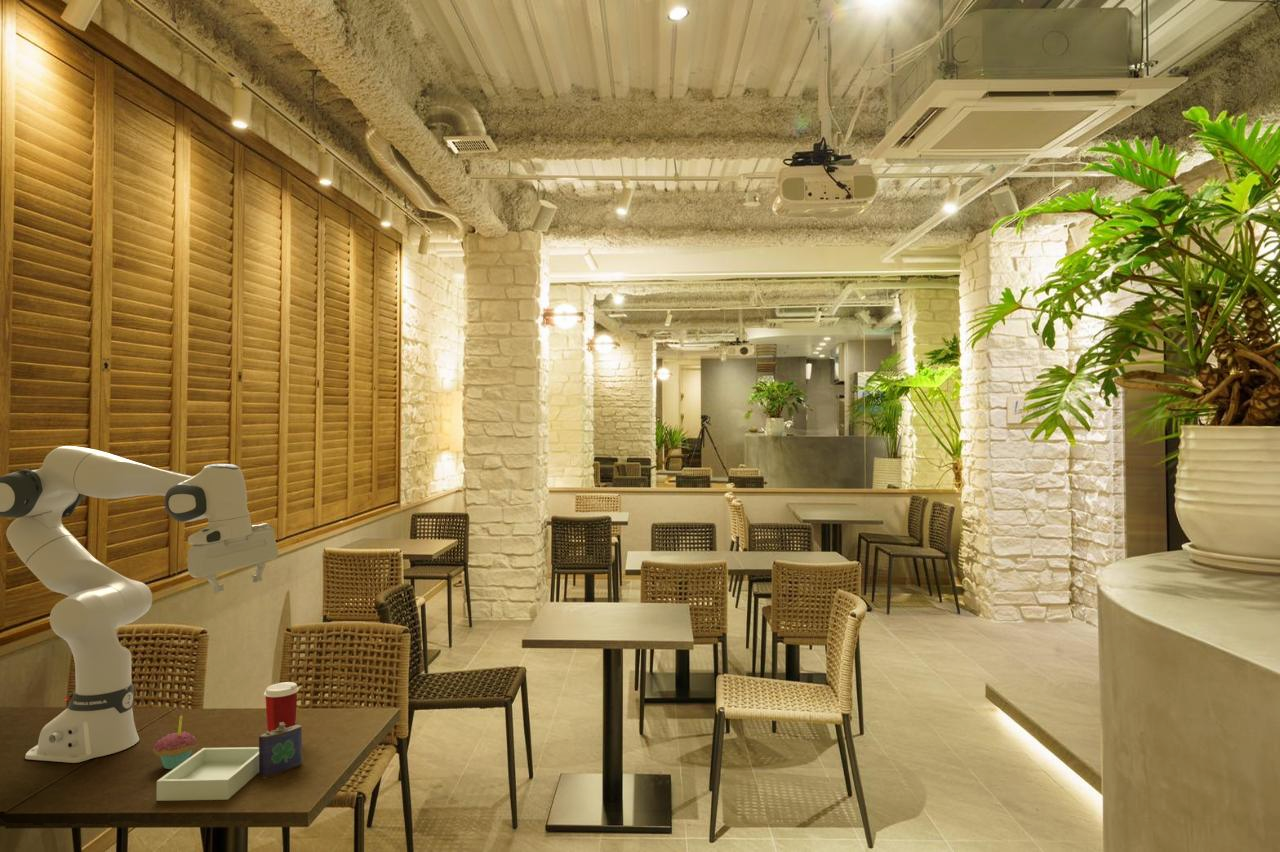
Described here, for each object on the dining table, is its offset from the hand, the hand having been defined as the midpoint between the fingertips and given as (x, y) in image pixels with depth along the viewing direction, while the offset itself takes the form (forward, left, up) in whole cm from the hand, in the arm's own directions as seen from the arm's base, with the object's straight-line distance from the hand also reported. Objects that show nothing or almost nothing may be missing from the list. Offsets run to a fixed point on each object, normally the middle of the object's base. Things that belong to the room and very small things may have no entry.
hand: (238, 586), depth 180 cm
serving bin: (+4, -17, -39) cm, 43 cm away
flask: (+16, -12, -39) cm, 44 cm away
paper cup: (+9, +3, -39) cm, 40 cm away
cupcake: (-10, -8, -39) cm, 41 cm away
